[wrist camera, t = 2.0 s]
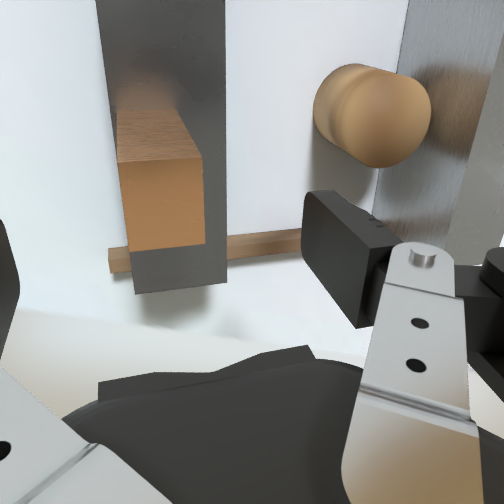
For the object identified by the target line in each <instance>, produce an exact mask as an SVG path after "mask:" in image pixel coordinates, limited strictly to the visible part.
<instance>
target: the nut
mask: <svg viewBox="0 0 504 504" xmlns="http://www.w3.org/2000/svg"><path fill="white" fill-rule="evenodd" d="M313 117H314V122H315V125H316V127H317V129H318V131H319V132H320V134H321V135H322V136H323V137H324V138H326V139H327V140H328V141H330V142H331V143H333V144H334V145H336V146H337V147H339V148H340V149H342V150H343V151H345V152H346V153H348V154H349V155H351V156H352V157H354V158H355V159H357V160H358V161H360V162H361V163H363V164H365V165H367V166H369V167H372V168H387V167H391V166H394V165H396V164H398V163H400V162H402V161H404V160H405V159H406V158H408V157H409V156H410V155H411V154H412V153H413V152H414V151H415V150H416V149H417V148H418V146H419V145H420V144H421V142H422V140H423V139H424V137H425V135H426V132H427V130H428V127H429V123H430V118H431V104H430V99H429V96H428V94H427V92H426V90H425V89H424V87H423V86H422V85H421V84H420V83H419V82H418V81H416V80H415V79H413V78H410V77H407V76H403V75H400V74H396V73H392V72H388V71H385V70H381V69H377V68H373V67H370V66H366V65H362V64H348V65H344V66H342V67H339V68H338V69H336V70H334V71H333V72H332V73H330V74H329V75H328V76H327V77H326V78H325V80H324V81H323V82H322V84H321V85H320V87H319V89H318V91H317V93H316V96H315V100H314V105H313Z"/></svg>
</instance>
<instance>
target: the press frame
mask: <svg viewBox="0 0 504 504" xmlns="http://www.w3.org/2000/svg"><path fill="white" fill-rule="evenodd" d="M378 221H379V220H378ZM379 222H380V221H379ZM380 223H381V222H380ZM381 224H382V223H381ZM384 227H386V226H385V225H384ZM386 228H387V227H386ZM387 229H388V228H387ZM301 230H302V228H298V229H288V230H279V231H269V232H260V233H250V234H241V235H231V236H227V260H228V259H237V258H245V257H254V256H262V255H271V254H279V253H288V252H296V251H301ZM391 232H392V231H391ZM392 233H393V232H392ZM397 237H398V236H397ZM398 238H399V237H398ZM108 262H109V268H110V273H118V272H127V271H132V268H131V260H130V253H129V246H126V247H117V248H109V249H108Z"/></svg>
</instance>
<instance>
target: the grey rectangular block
mask: <svg viewBox="0 0 504 504" xmlns="http://www.w3.org/2000/svg"><path fill="white" fill-rule="evenodd" d="M397 74H400V75H403V76H407V77H410V78H413V79H415V80H416V81H418V82H419V83H420V84H421V85H422V86H423V87H424V89H425V90H426V92H427V94H428V96H429V99H430V104H431V118H430V123H429V127H428V130H427V132H426V135H425V137H424V139H423V140H422V142H421V144H420V145H419V146H418V148H417V149H416V150H415V151H414V152H413V153H412V154H411V155H410V156H409V157H408V158H406V159H405V160H404V161H402V162H400V163H398V164H396V165H394V166H391V167H387V168H380V171H379V177H378V183H377V189H376V194H375V200H374V206H373V211H372V215H373V216H374V217H375V218H376V219H377V220H379V221H380V222H381V223H382V224H383V225H385V226H386V227H387V228H388V229H389V230H390V231H392V232H393V233H394V234H395V235H396V236H398V237H399V238H400V239H401V240H402V241H404V242H405V243H407V242H418V243H424V244H429V245H432V246H435V247H438V248H440V249H442V250H444V251H446V252H447V253H448V254H450V256H451V257H452V258H453V260H454V265H468V266H472V265H479V264H483V262H484V259H485V256H486V253H487V251H488V250H490V249H493V248H497V247H499V245H500V243H501V240H502V237H503V234H504V0H409V6H408V12H407V17H406V23H405V29H404V34H403V40H402V46H401V52H400V57H399V63H398V69H397Z"/></svg>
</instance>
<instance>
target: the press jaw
mask: <svg viewBox="0 0 504 504" xmlns="http://www.w3.org/2000/svg"><path fill="white" fill-rule="evenodd" d="M95 1H96V8H97V16H98V23H99V30H100V38H101V45H102V53H103V60H104V67H105V75H106V82H107V90H108V97H109V105H110V112H111V119H112V127H113V134H114V142H115V149H116V156H117V164H118V172H119V179H120V187H121V194H122V201H123V209H124V216H125V224H126V231H127V239H128V246H129V253H130V260H131V268H132V275H133V282H134V290H135V295H136V294H144V293H152V292H159V291H167V290H174V289H182V288H190V287H197V286H205V285H213V284H220V283H227V195H226V48H225V0H95Z"/></svg>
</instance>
